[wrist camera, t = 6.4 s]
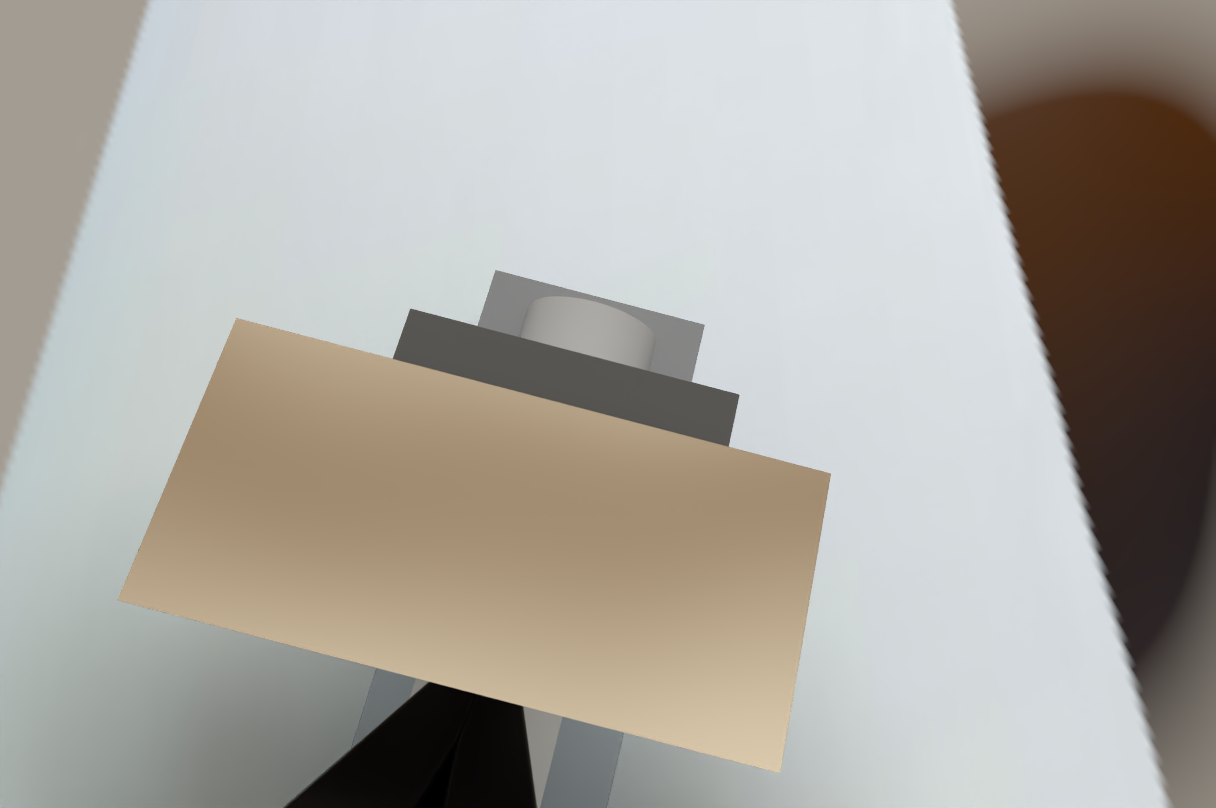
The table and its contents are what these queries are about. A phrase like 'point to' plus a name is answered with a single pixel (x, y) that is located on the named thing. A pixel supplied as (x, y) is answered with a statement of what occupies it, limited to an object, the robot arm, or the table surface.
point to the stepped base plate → (567, 377)
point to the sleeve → (490, 543)
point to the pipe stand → (559, 746)
